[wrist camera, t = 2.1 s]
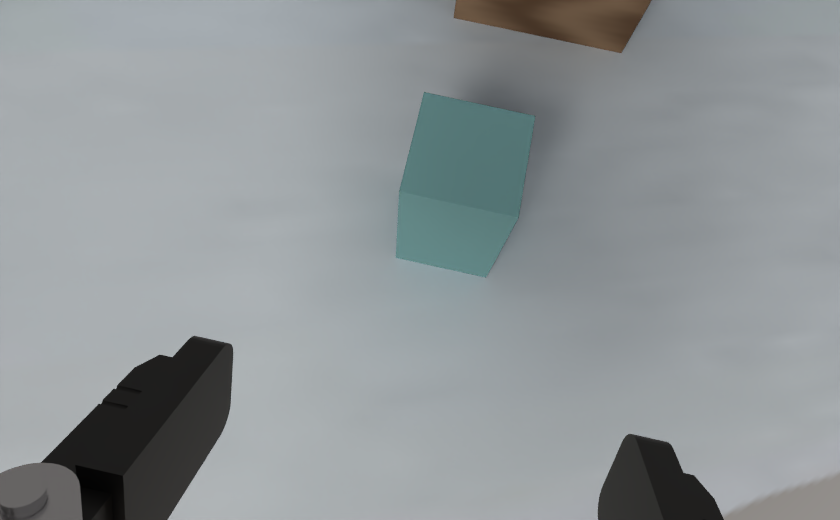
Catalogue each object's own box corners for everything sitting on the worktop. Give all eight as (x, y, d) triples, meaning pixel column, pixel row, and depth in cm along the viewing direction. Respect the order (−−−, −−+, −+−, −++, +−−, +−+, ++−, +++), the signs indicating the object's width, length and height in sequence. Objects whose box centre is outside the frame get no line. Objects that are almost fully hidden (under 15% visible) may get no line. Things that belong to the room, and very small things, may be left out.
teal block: (395, 257, 31) (399, 191, 23) (415, 177, 32) (424, 92, 25) (485, 277, 31) (518, 217, 23) (500, 196, 32) (535, 116, 25)
